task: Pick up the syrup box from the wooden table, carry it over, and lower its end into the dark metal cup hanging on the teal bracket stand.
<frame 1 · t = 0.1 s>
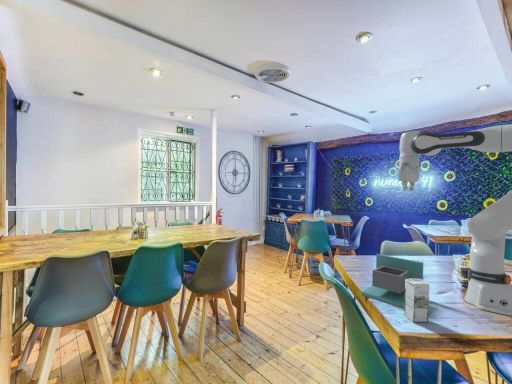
hand: (408, 190, 135), 48 cm above the table, fingers open, 8 cm apart
syrup box: (416, 319, 99), on the table
cup bracket: (390, 297, 119), on the table
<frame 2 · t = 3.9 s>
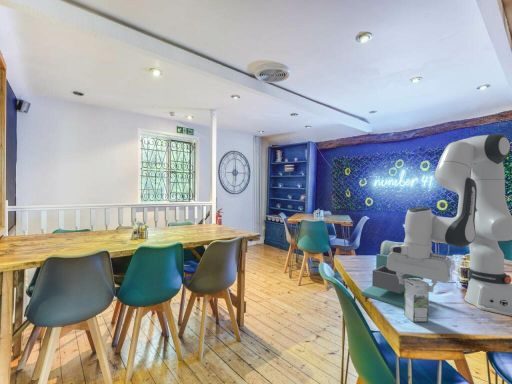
hand: (415, 287, 99), 12 cm above the table, fingers open, 8 cm apart
syrup box: (416, 319, 99), on the table, touching gripper
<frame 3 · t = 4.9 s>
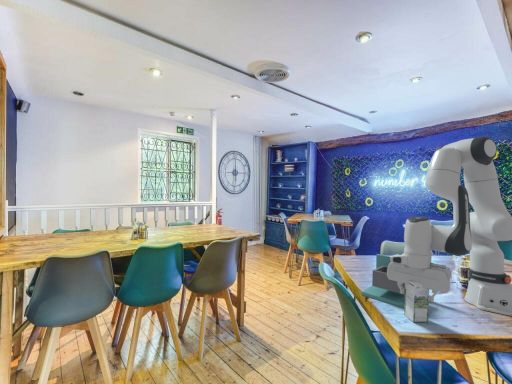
hand: (416, 297, 99), 8 cm above the table, fingers closed on syrup box, 8 cm apart
syrup box: (416, 319, 99), on the table, touching gripper
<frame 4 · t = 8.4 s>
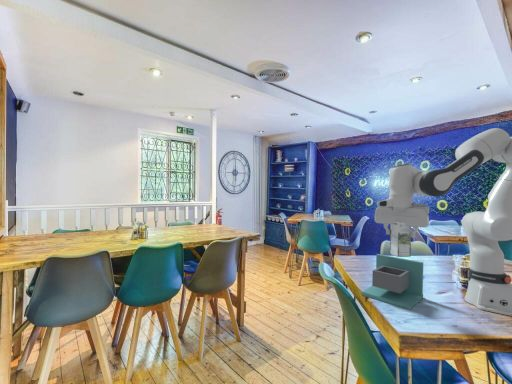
hand: (400, 235, 111), 29 cm above the table, fingers closed on syrup box, 8 cm apart
syrup box: (400, 255, 111), point 20 cm above the table, touching gripper
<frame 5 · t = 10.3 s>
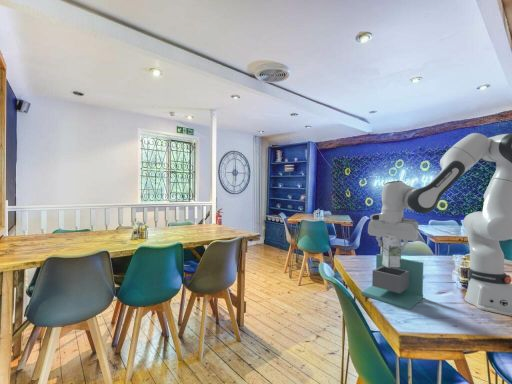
hand: (391, 248, 119), 22 cm above the table, fingers closed on syrup box, 8 cm apart
syrup box: (391, 266, 119), point 14 cm above the table, touching gripper
when the fingers open (16 cm above the table, at t = 12.1 s): syrup box drops 2 cm, resting on cup bracket.
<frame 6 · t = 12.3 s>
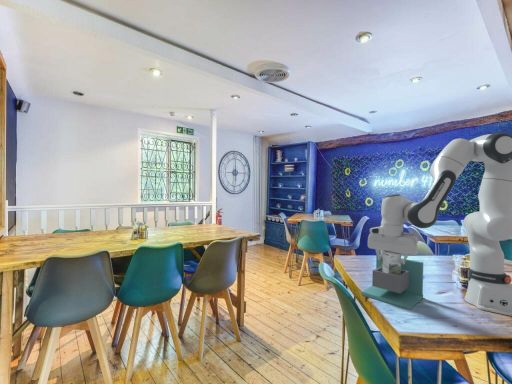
hand: (391, 261, 119), 16 cm above the table, fingers open, 8 cm apart
syrup box: (390, 284, 119), point 6 cm above the table, touching cup bracket
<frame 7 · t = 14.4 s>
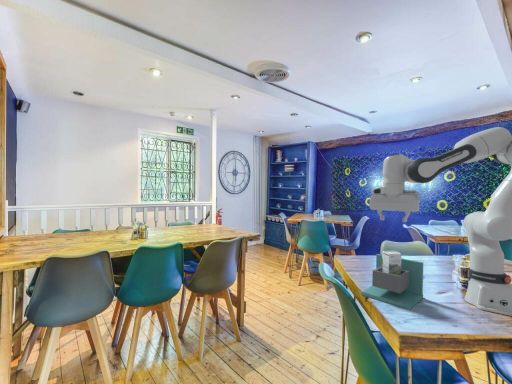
hand: (393, 220, 120), 34 cm above the table, fingers open, 8 cm apart
nothing on the table moved.
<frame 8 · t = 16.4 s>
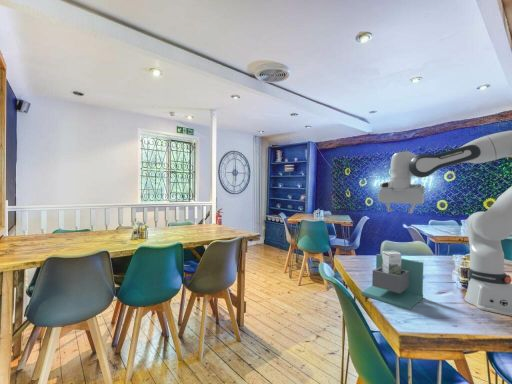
hand: (399, 212, 131), 37 cm above the table, fingers open, 8 cm apart
nothing on the table moved.
at the end: syrup box 0.2 cm off-centre on the cup bracket, point 5.8 cm above the cup bracket's base; syrup box tilted 0°; the gripper is holding nothing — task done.
